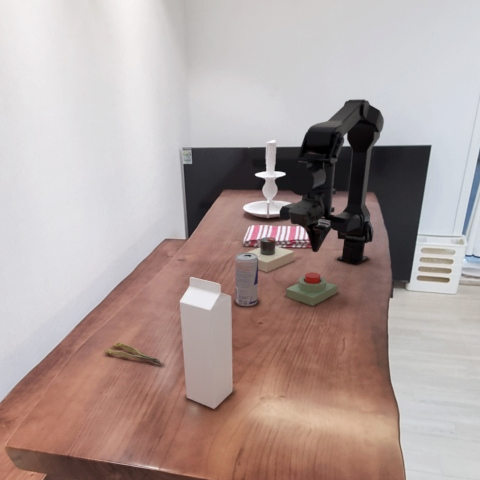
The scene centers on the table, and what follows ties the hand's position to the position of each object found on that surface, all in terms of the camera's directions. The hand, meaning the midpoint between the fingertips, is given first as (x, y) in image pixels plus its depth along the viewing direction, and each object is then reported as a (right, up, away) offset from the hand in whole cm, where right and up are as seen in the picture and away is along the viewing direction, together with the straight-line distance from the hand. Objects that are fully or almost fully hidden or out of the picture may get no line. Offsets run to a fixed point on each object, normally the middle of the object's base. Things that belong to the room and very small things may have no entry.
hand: (315, 251), depth 112 cm
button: (0, -7, +3) cm, 7 cm away
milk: (-27, -30, -30) cm, 50 cm away
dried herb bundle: (-41, -24, -17) cm, 51 cm away
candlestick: (0, +24, +69) cm, 73 cm away
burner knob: (-8, +3, +24) cm, 26 cm away
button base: (0, -10, +4) cm, 11 cm away
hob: (-7, +1, +26) cm, 27 cm away
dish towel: (0, +10, +44) cm, 45 cm away
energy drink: (-16, -12, +3) cm, 21 cm away
